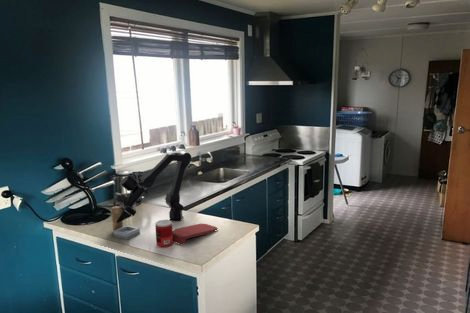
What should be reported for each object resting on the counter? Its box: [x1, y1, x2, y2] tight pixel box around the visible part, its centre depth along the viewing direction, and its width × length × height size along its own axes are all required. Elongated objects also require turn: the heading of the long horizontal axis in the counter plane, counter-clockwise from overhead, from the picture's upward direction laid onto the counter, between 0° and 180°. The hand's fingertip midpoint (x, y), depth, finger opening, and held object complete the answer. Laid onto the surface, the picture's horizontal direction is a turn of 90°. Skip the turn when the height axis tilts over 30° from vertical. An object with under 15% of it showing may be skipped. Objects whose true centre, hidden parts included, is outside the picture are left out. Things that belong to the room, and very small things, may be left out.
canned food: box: [154, 219, 174, 248], centre depth 176 cm, size 8×8×11 cm
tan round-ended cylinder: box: [111, 205, 124, 233], centre depth 192 cm, size 5×5×13 cm
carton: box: [172, 223, 219, 245], centre depth 188 cm, size 12×5×25 cm
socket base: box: [113, 224, 141, 241], centre depth 188 cm, size 9×9×3 cm
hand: (114, 219), depth 192 cm, fingers open, 9 cm apart
